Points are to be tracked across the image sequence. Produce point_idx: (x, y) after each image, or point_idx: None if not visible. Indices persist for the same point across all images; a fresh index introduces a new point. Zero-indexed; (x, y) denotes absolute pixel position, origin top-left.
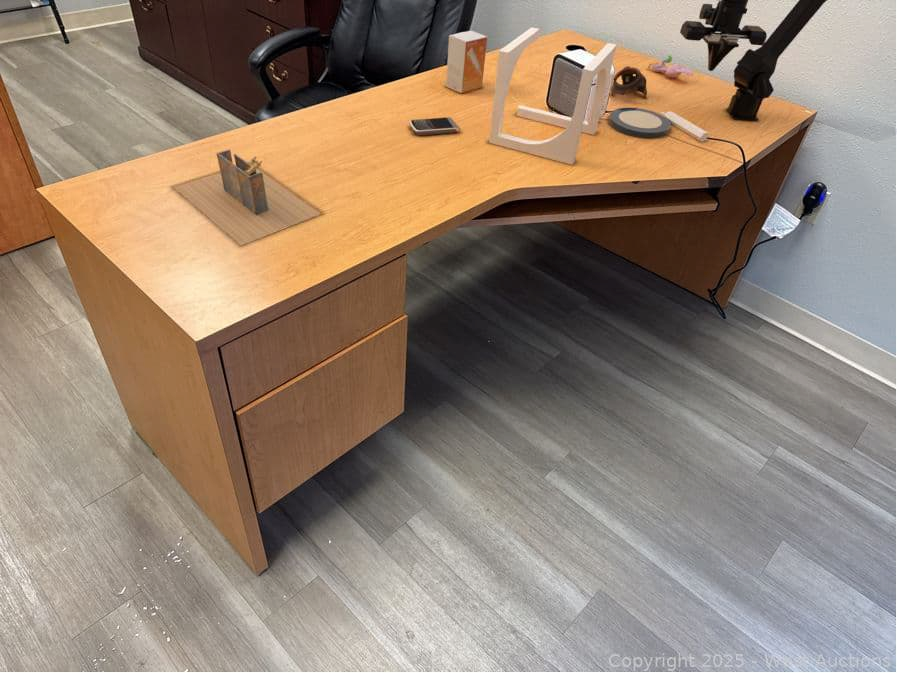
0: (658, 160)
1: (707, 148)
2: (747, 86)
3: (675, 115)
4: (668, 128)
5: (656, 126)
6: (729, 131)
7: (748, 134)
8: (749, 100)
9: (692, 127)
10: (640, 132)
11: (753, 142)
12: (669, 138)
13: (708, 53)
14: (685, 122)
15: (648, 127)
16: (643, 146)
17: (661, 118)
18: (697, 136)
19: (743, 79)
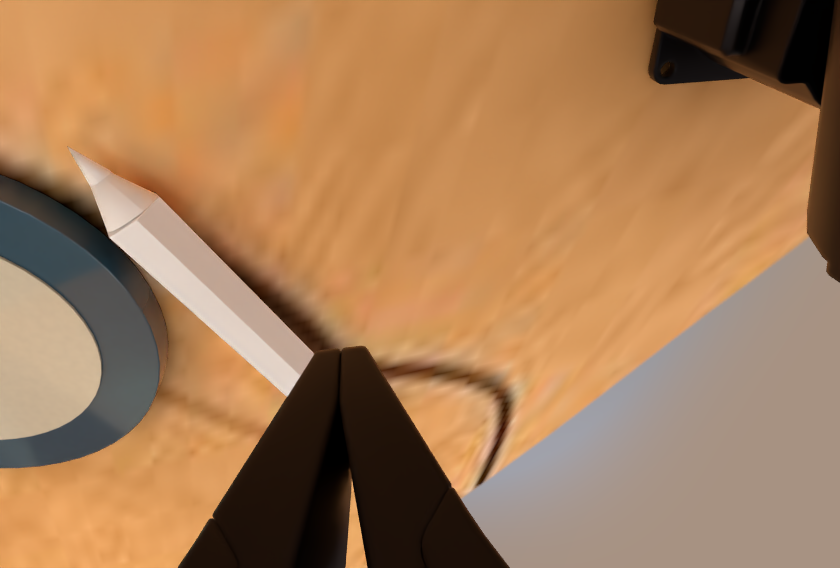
0: (143, 559)
1: None
2: (807, 209)
3: (175, 280)
4: (149, 403)
5: (76, 408)
6: (529, 266)
7: (624, 275)
8: (810, 104)
9: (282, 391)
10: (6, 465)
11: (600, 351)
12: (176, 415)
13: (197, 554)
14: (242, 356)
15: (32, 427)
16: (63, 500)
17: (88, 298)
18: None
19: (830, 174)
